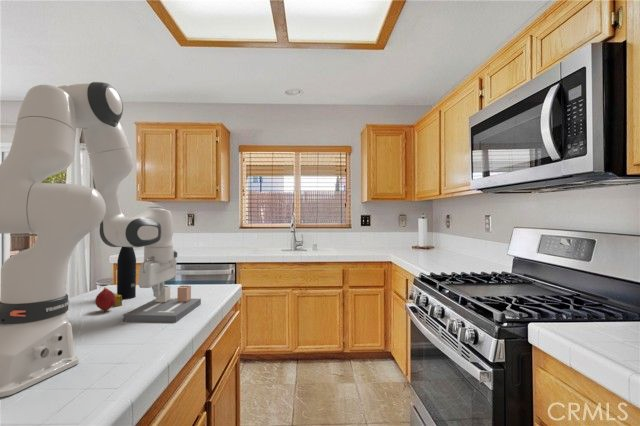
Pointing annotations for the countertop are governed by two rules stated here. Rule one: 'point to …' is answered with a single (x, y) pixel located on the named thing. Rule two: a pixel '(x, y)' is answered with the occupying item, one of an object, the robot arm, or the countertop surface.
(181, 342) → the countertop surface
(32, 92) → the robot arm
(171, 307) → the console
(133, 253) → the wine bottle
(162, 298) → the block
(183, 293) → the fader
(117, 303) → the medication box
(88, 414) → the countertop surface
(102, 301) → the onion
